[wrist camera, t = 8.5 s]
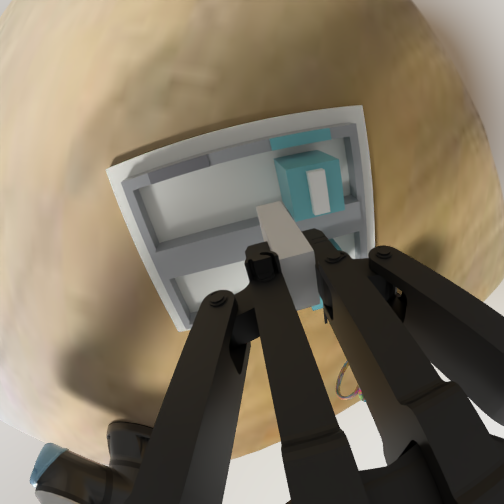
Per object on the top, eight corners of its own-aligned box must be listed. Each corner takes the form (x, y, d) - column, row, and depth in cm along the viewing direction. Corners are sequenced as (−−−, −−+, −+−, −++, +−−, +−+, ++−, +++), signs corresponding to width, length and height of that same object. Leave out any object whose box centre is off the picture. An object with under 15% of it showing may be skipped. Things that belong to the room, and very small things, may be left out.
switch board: (179, 326, 32) (176, 345, 29) (109, 167, 23) (95, 174, 20) (370, 277, 32) (382, 293, 29) (357, 105, 22) (373, 105, 19)
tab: (282, 201, 25) (297, 225, 20) (273, 158, 23) (287, 171, 18) (323, 191, 25) (348, 212, 20) (317, 149, 23) (342, 160, 18)
